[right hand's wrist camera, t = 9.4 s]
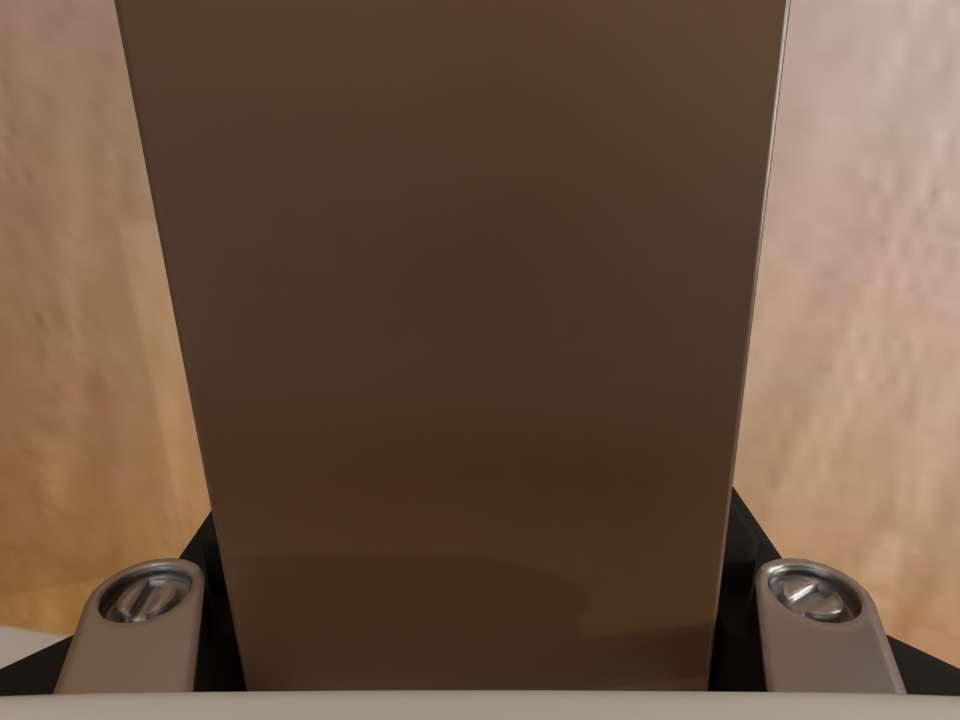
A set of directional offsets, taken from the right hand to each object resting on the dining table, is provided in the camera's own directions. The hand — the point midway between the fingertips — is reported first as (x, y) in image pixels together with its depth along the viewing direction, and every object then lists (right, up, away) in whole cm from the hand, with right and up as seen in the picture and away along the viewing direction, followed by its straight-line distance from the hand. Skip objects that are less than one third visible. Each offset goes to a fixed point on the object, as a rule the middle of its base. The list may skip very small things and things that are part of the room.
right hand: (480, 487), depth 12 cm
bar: (-1, +30, -9) cm, 32 cm away
